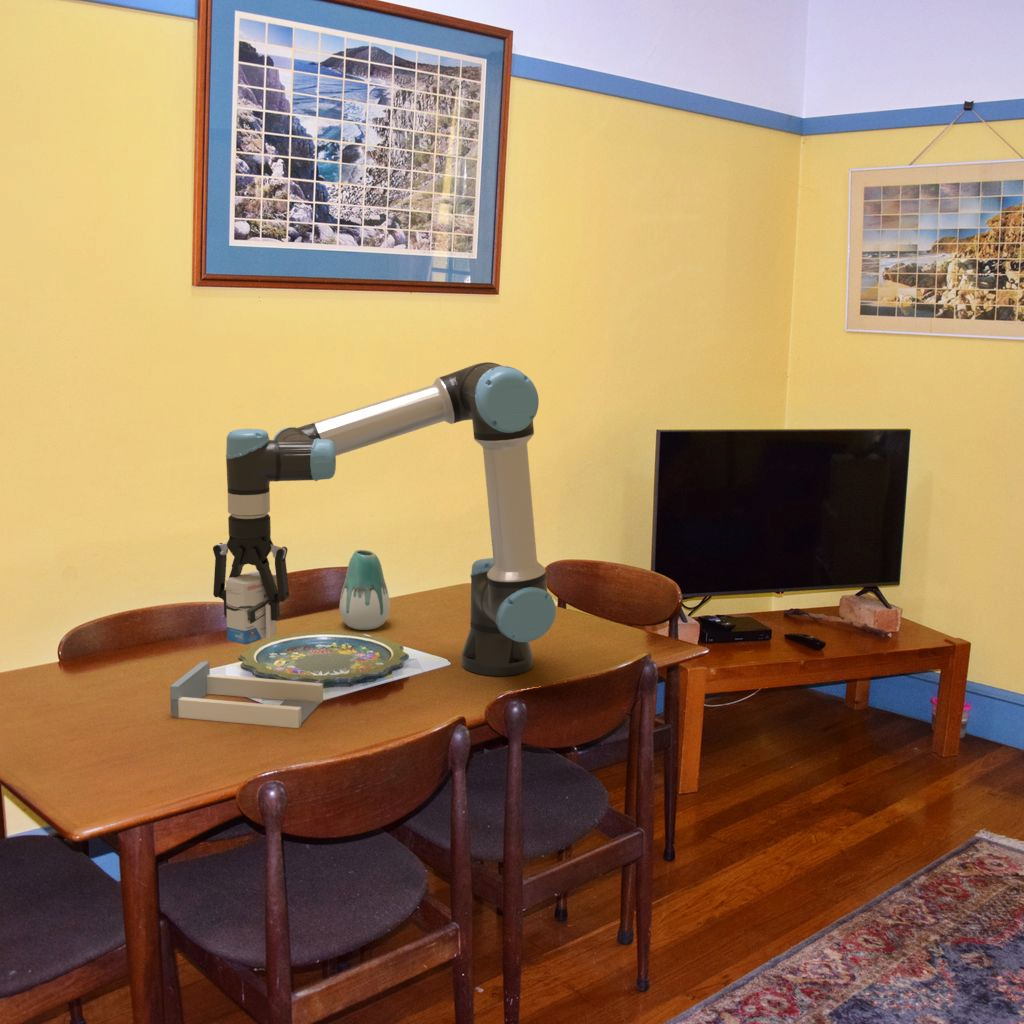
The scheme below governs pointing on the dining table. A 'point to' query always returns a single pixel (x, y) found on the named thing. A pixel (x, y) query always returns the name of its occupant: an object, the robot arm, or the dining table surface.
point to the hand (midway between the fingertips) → (252, 635)
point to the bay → (202, 682)
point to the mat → (302, 707)
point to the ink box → (246, 608)
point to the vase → (364, 593)
